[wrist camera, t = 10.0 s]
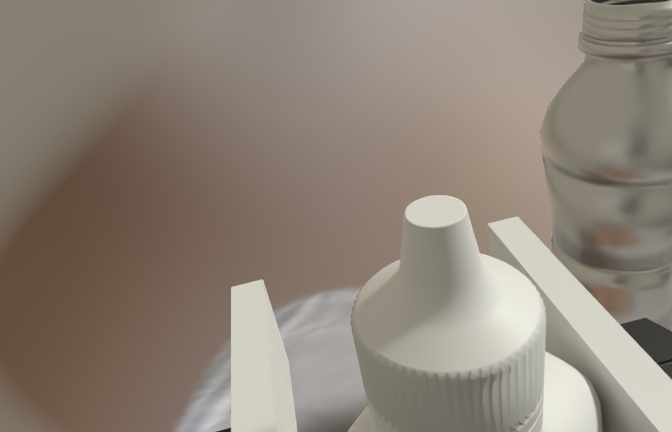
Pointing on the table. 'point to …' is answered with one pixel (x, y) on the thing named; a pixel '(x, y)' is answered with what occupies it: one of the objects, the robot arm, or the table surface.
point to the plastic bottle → (616, 160)
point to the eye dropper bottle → (460, 340)
